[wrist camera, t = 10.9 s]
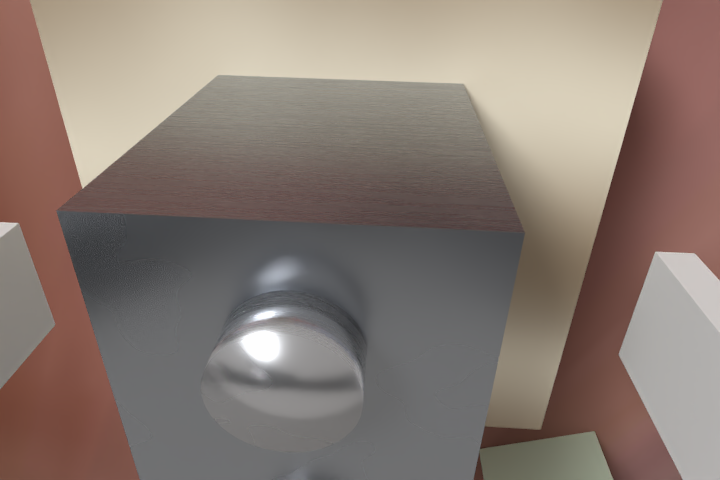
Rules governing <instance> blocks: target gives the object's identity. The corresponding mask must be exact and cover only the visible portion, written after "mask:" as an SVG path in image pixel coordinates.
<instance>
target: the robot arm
mask: <svg viewBox="0 0 720 480" xmlns="http://www.w3.org/2000/svg"><path fill="white" fill-rule="evenodd" d="M54 326H55V322H54V319H53V316H52V314H51V311H50V308H49V305H48V303H47V300H46V297H45V294H44V292H43V289H42V286H41V283H40V280H39V278H38V275H37V272H36V269H35V267H34V264H33V261H32V258H31V256H30V253H29V250H28V247H27V245H26V242H25V239H24V236H23V233H22V231H21V228H20V225H19V223H4V222H0V389H1V388H2V387H3V385H4V384H5V383H6V382H7V381H8V380H9V378H10V377H11V376H12V375H13V374H14V373H15V371H16V370H17V369H18V368H19V367H20V365H21V364H22V363H23V362H24V361H25V360H26V358H27V357H28V356H29V355H30V354H31V353H32V351H33V350H34V349H35V348H36V347H37V346H38V344H39V343H40V342H41V341H42V340H43V339H44V337H45V336H46V335H47V334H48V333H49V332H50V330H51V329H52V328H53V327H54ZM619 357H620V358H621V360H622V362H623V364H624V366H625V368H626V370H627V372H628V374H629V376H630V378H631V380H632V382H633V384H634V386H635V388H636V390H637V392H638V393H639V395H640V397H641V399H642V401H643V403H644V405H645V407H646V409H647V411H648V413H649V415H650V417H651V419H652V421H653V423H654V425H655V427H656V428H657V430H658V432H659V434H660V436H661V438H662V440H663V442H664V444H665V446H666V448H667V450H668V452H669V454H670V456H671V458H672V460H673V462H674V463H675V465H676V467H677V469H678V471H679V473H680V475H681V477H682V479H683V480H720V281H719V280H718V279H717V278H716V276H715V275H714V274H713V273H712V272H711V271H710V270H709V269H708V268H707V266H706V265H705V264H704V263H703V262H702V261H701V260H700V259H699V258H698V256H697V255H696V254H695V253H673V252H655V254H654V257H653V260H652V263H651V265H650V268H649V271H648V274H647V277H646V279H645V282H644V285H643V288H642V291H641V293H640V296H639V299H638V302H637V305H636V307H635V310H634V313H633V316H632V319H631V321H630V324H629V327H628V330H627V332H626V335H625V338H624V341H623V344H622V346H621V349H620V352H619Z"/></svg>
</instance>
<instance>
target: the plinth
mask: <svg viewBox="0 0 720 480" xmlns="http://www.w3.org/2000/svg"><path fill="white" fill-rule="evenodd" d="M662 1H663V0H30V2H31V6H32V10H33V13H34V17H35V20H36V24H37V27H38V31H39V35H40V38H41V42H42V45H43V49H44V52H45V56H46V60H47V63H48V67H49V70H50V74H51V77H52V81H53V85H54V88H55V92H56V95H57V99H58V103H59V106H60V110H61V113H62V117H63V120H64V124H65V128H66V131H67V135H68V138H69V142H70V145H71V149H72V153H73V156H74V160H75V163H76V167H77V170H78V174H79V178H80V181H81V185H82V188H84V187H85V186H86V185H88V184H89V183H90V182H91V181H92V180H93V179H95V178H96V177H97V176H98V175H99V174H101V173H102V172H103V171H104V170H105V169H107V168H108V167H109V166H110V165H111V164H113V163H114V162H115V161H116V160H117V159H119V158H120V157H121V156H122V155H123V154H125V153H126V152H127V151H128V150H129V149H130V148H132V147H133V146H134V145H135V144H136V143H138V142H139V141H140V140H141V139H142V138H144V137H145V136H146V135H147V134H148V133H150V132H151V131H152V130H153V129H154V128H156V127H157V126H158V125H159V124H160V123H161V122H163V121H164V120H165V119H166V118H167V117H169V116H170V115H171V114H172V113H173V112H175V111H176V110H177V109H178V108H179V107H181V106H182V105H183V104H184V103H185V102H187V101H188V100H189V99H190V98H191V97H193V96H194V95H195V94H196V93H197V92H198V91H200V90H201V89H202V88H203V87H204V86H206V85H207V84H208V83H209V82H210V81H212V80H213V79H214V78H215V77H216V76H218V75H234V76H261V77H289V78H317V79H345V80H372V81H400V82H428V83H456V84H464V87H465V89H466V91H467V94H468V96H469V99H470V101H471V104H472V106H473V108H474V111H475V113H476V116H477V118H478V120H479V123H480V125H481V128H482V130H483V132H484V135H485V137H486V140H487V142H488V145H489V147H490V149H491V152H492V154H493V157H494V159H495V161H496V164H497V166H498V169H499V171H500V174H501V176H502V178H503V181H504V183H505V186H506V188H507V190H508V193H509V195H510V198H511V200H512V203H513V205H514V207H515V210H516V212H517V215H518V217H519V219H520V222H521V224H522V227H523V229H524V232H525V236H524V240H523V245H522V250H521V255H520V260H519V264H518V269H517V274H516V279H515V283H514V288H513V293H512V298H511V303H510V307H509V312H508V317H507V322H506V326H505V331H504V336H503V341H502V346H501V350H500V355H499V360H498V365H497V369H496V374H495V379H494V384H493V389H492V393H491V398H490V403H489V408H488V412H487V417H486V422H485V426H486V427H503V428H520V429H536V430H541V427H542V423H543V420H544V416H545V413H546V409H547V406H548V402H549V398H550V395H551V391H552V388H553V384H554V381H555V377H556V374H557V370H558V367H559V363H560V360H561V356H562V353H563V349H564V346H565V342H566V339H567V335H568V332H569V328H570V325H571V321H572V318H573V314H574V311H575V307H576V304H577V300H578V297H579V293H580V290H581V286H582V283H583V279H584V275H585V272H586V268H587V265H588V261H589V258H590V254H591V251H592V247H593V244H594V240H595V237H596V233H597V230H598V226H599V223H600V219H601V216H602V212H603V209H604V205H605V202H606V198H607V195H608V191H609V188H610V184H611V181H612V177H613V174H614V170H615V167H616V163H617V160H618V156H619V153H620V149H621V145H622V142H623V138H624V135H625V131H626V128H627V124H628V121H629V117H630V114H631V110H632V107H633V103H634V100H635V96H636V93H637V89H638V86H639V82H640V79H641V75H642V72H643V68H644V65H645V61H646V58H647V54H648V51H649V47H650V44H651V40H652V37H653V33H654V30H655V26H656V22H657V19H658V15H659V12H660V8H661V5H662Z"/></svg>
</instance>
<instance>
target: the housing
mask: <svg viewBox="0 0 720 480" xmlns="http://www.w3.org/2000/svg"><path fill="white" fill-rule="evenodd" d="M57 214H58V218H59V221H60V224H61V227H62V230H63V234H64V237H65V240H66V243H67V246H68V250H69V253H70V256H71V259H72V263H73V266H74V269H75V272H76V275H77V279H78V282H79V285H80V288H81V292H82V295H83V298H84V301H85V304H86V308H87V311H88V314H89V317H90V321H91V324H92V327H93V330H94V333H95V337H96V340H97V343H98V346H99V350H100V353H101V356H102V359H103V362H104V366H105V369H106V372H107V375H108V378H109V382H110V385H111V388H112V391H113V395H114V398H115V401H116V404H117V407H118V411H119V414H120V417H121V420H122V424H123V427H124V430H125V433H126V436H127V440H128V443H129V446H130V449H131V453H132V456H133V459H134V462H135V465H136V469H137V472H138V475H139V478H140V480H473V479H474V475H475V470H476V465H477V460H478V455H479V451H480V446H481V441H482V436H483V432H484V427H485V422H486V417H487V412H488V408H489V403H490V398H491V393H492V389H493V384H494V379H495V374H496V369H497V365H498V360H499V355H500V350H501V346H502V341H503V336H504V331H505V326H506V322H507V317H508V312H509V307H510V303H511V298H512V293H513V288H514V283H515V279H516V274H517V269H518V264H519V260H520V255H521V250H522V245H523V240H524V236H525V232H524V229H523V227H522V224H521V222H520V219H519V217H518V215H517V212H516V210H515V207H514V205H513V203H512V200H511V198H510V195H509V193H508V190H507V188H506V186H505V183H504V181H503V178H502V176H501V174H500V171H499V169H498V166H497V164H496V161H495V159H494V157H493V154H492V152H491V149H490V147H489V145H488V142H487V140H486V137H485V135H484V132H483V130H482V128H481V125H480V123H479V120H478V118H477V116H476V113H475V111H474V108H473V106H472V104H471V101H470V99H469V96H468V94H467V91H466V89H465V87H464V84H456V83H428V82H400V81H372V80H345V79H317V78H289V77H261V76H234V75H218V76H216V77H215V78H214V79H213V80H212V81H210V82H209V83H208V84H207V85H206V86H204V87H203V88H202V89H201V90H200V91H198V92H197V93H196V94H195V95H194V96H193V97H191V98H190V99H189V100H188V101H187V102H185V103H184V104H183V105H182V106H181V107H179V108H178V109H177V110H176V111H175V112H173V113H172V114H171V115H170V116H169V117H167V118H166V119H165V120H164V121H163V122H161V123H160V124H159V125H158V126H157V127H156V128H154V129H153V130H152V131H151V132H150V133H148V134H147V135H146V136H145V137H144V138H142V139H141V140H140V141H139V142H138V143H136V144H135V145H134V146H133V147H132V148H130V149H129V150H128V151H127V152H126V153H125V154H123V155H122V156H121V157H120V158H119V159H117V160H116V161H115V162H114V163H113V164H111V165H110V166H109V167H108V168H107V169H105V170H104V171H103V172H102V173H101V174H99V175H98V176H97V177H96V178H95V179H93V180H92V181H91V182H90V183H89V184H88V185H86V186H85V187H84V188H83V189H82V190H80V191H79V192H78V193H77V194H76V195H74V196H73V197H72V198H71V199H70V200H68V201H67V202H66V203H65V204H64V205H62V206H61V207H60V208H59V209H58V210H57Z"/></svg>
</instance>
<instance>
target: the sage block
mask: <svg viewBox="0 0 720 480" xmlns="http://www.w3.org/2000/svg"><path fill="white" fill-rule="evenodd" d="M479 453H480V459H481V465H482V472H483V478H484V480H613V478H612V475H611V472H610V470H609V467H608V465H607V462H606V460H605V457H604V454H603V452H602V449H601V447H600V444H599V441H598V439H597V436H596V434H595V431H592V432H586V433H579V434H573V435H567V436H560V437H554V438H547V439H541V440H534V441H528V442H521V443H515V444H508V445H502V446H495V447H489V448H483V449H480V451H479Z"/></svg>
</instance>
